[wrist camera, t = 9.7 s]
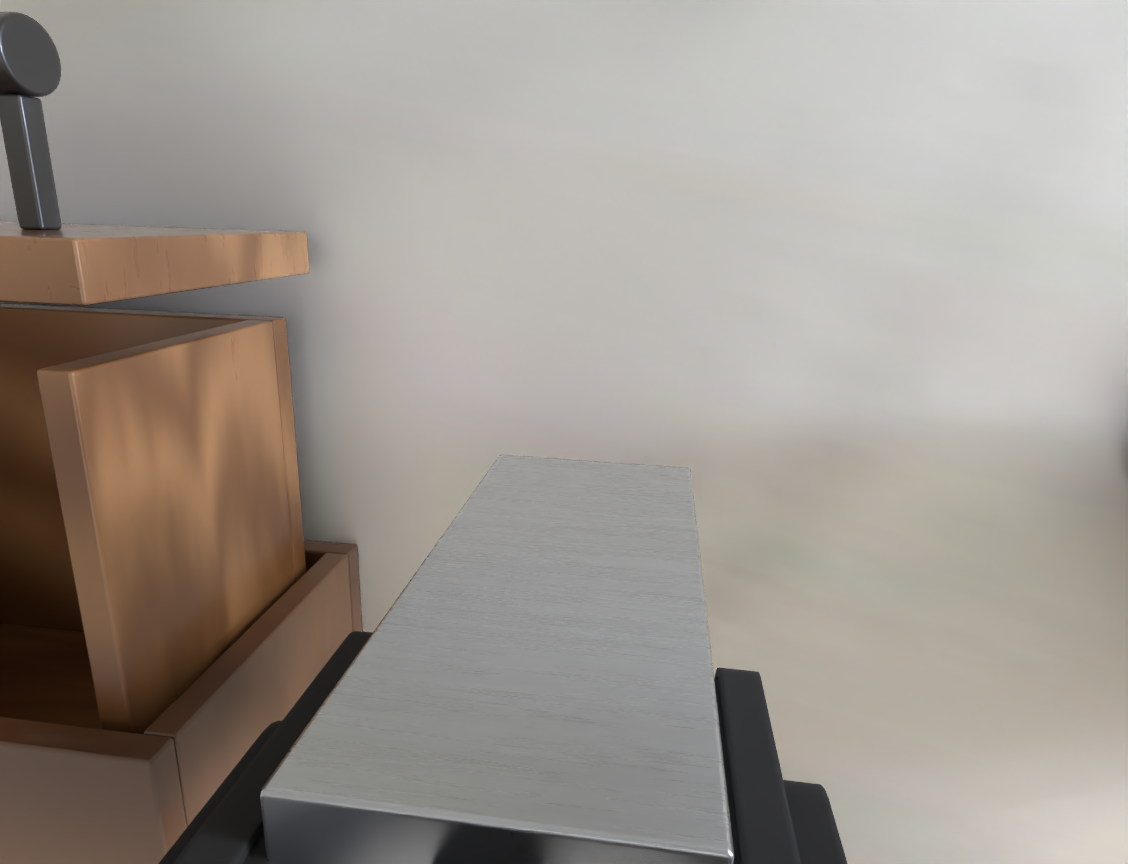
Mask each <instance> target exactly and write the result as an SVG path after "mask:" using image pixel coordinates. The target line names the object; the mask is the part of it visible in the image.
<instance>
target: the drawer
mask: <svg viewBox="0 0 1128 864" xmlns="http://www.w3.org/2000/svg"><path fill="white" fill-rule="evenodd" d="M60 77H61V65H60V59H59V55H58V52H57V49H56V47H55V45H54V43H53V41H52V39H51V37H50V36H49V34H48V33H47V32H46V30H45V29H44V28H43V27H42V26H41V25H40V24H39V23H38V22H37V21H35V20H34V19H32V18H31V17H29V16H27V15H25V14H22V13H18V12H0V121H1V126H2V132H3V138H4V143H5V149H6V154H7V160H8V165H9V171H10V176H11V182H12V188H13V193H14V199H15V204H16V210H17V215H18V221H19V222H0V301H3V302H24V303H44V304H65V305H92V304H99V303H105V302H112V301H119V300H126V299H133V298H140V297H147V296H154V295H161V294H168V293H175V292H182V291H189V290H196V289H203V288H210V287H217V286H223V285H230V284H237V283H244V282H251V281H258V280H265V279H272V278H279V277H286V276H293V275H300V274H307V273H309V260H308V246H307V234H306V232H295V231H266V230H236V229H207V228H177V227H148V226H118V225H89V224H61V220H60V214H59V208H58V202H57V195H56V189H55V183H54V177H53V171H52V165H51V159H50V153H49V147H48V140H47V134H46V128H45V122H44V116H43V110H42V104H41V101H40V99H38V98H35V97H43V96H47V95H48V94H50V93H52V92H53V91H54V90H55V89H56V88H57V86H58V84H59V81H60ZM305 573H306V562H305V549H304V537H303V525H302V512H301V500H300V488H299V475H298V463H297V451H296V438H295V426H294V413H293V401H292V389H291V376H290V364H289V352H288V339H287V327H286V319H285V318H283V317H266V316H245V315H225V314H205V313H184V312H164V311H143V310H123V309H102V308H82V307H62V306H41V305H21V304H0V716H1V717H9V718H18V719H26V720H34V721H42V722H50V723H58V724H66V725H74V726H82V727H90V728H98V729H106V730H114V731H122V732H130V733H138V734H144V731H145V730H146V729H147V728H148V727H149V726H150V725H151V724H152V723H153V722H154V721H155V720H156V719H157V718H158V717H159V716H160V715H161V714H162V713H163V712H164V711H165V710H166V709H167V708H168V707H169V706H170V705H171V704H172V703H173V702H175V701H176V700H177V699H178V698H179V697H180V696H181V695H182V694H183V693H184V692H185V691H186V690H187V689H188V688H189V687H190V686H191V685H192V684H193V683H194V682H195V681H196V680H197V679H198V678H199V677H200V676H201V675H202V674H203V673H204V672H205V671H206V670H207V669H208V668H209V667H210V666H211V665H212V664H213V663H214V662H215V661H216V660H217V659H218V658H219V657H220V656H221V655H222V654H223V653H224V652H225V651H227V650H228V649H229V648H230V647H231V646H232V645H233V644H234V643H235V642H236V641H237V640H238V639H239V638H240V637H241V636H242V635H243V634H244V633H245V632H246V631H247V630H248V629H249V628H250V627H251V626H252V625H253V624H254V623H255V622H256V621H257V620H258V619H259V618H260V617H261V616H262V615H263V614H264V613H265V612H266V611H267V610H268V609H269V608H270V607H271V606H272V605H273V604H274V603H275V602H276V601H277V600H279V599H280V598H281V597H282V596H283V595H284V594H285V593H286V592H287V591H288V590H289V589H290V588H291V587H292V586H293V585H294V584H295V583H296V582H297V581H298V580H299V579H300V578H301V577H302V576H303V575H304V574H305Z"/></svg>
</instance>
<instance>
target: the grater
mask: <svg viewBox="0 0 1128 864" xmlns="http://www.w3.org/2000/svg"><path fill="white" fill-rule="evenodd" d="M260 800H261V809H262V818H263V828H264V837H265V846H266V855H267V859H269V862H270V864H733V861H734V848H733V839H732V831H731V822H730V813H729V804H728V795H727V786H726V778H725V769H724V760H723V751H722V742H721V734H720V725H719V716H718V707H717V698H716V689H715V681H714V672H713V663H712V654H711V645H710V637H709V628H708V619H707V610H706V601H705V592H704V584H703V575H702V566H701V557H700V548H699V540H698V531H697V522H696V513H695V504H694V495H693V487H692V478H691V471H690V469H689V468H682V467H667V466H653V465H639V464H625V463H611V462H597V461H582V460H568V459H554V458H540V457H526V456H512V455H500V456H499V457H498V458H497V460H496V461H495V462H494V464H493V465H492V467H491V468H490V469H489V471H488V472H487V474H486V475H485V477H484V478H483V479H482V481H481V482H480V484H479V485H478V486H477V488H476V489H475V491H474V492H473V493H472V495H471V496H470V498H469V499H468V500H467V502H466V503H465V505H464V506H463V507H462V509H461V510H460V512H459V513H458V514H457V516H456V517H455V519H454V520H453V521H452V523H451V524H450V526H449V527H448V528H447V530H446V531H445V533H444V534H443V535H442V537H441V538H440V540H439V541H438V542H437V544H436V545H435V547H434V548H433V549H432V551H431V552H430V554H429V555H428V556H427V558H426V559H425V561H424V562H423V563H422V565H421V566H420V568H419V569H418V571H417V572H416V573H415V575H414V576H413V578H412V579H411V580H410V582H409V583H408V585H407V586H406V587H405V589H404V590H403V592H402V593H401V594H400V596H399V597H398V599H397V600H396V601H395V603H394V604H393V606H392V607H391V608H390V610H389V611H388V613H387V614H386V615H385V617H384V618H383V620H382V621H381V622H380V624H379V625H378V627H377V628H376V629H375V631H374V632H373V634H372V635H371V636H370V638H369V639H368V641H367V642H366V643H365V645H364V646H363V648H362V649H361V650H360V652H359V653H358V655H357V656H356V657H355V659H354V660H353V662H352V663H351V665H350V666H349V667H348V669H347V670H346V672H345V673H344V674H343V676H342V677H341V679H340V680H339V681H338V683H337V684H336V686H335V687H334V688H333V690H332V691H331V693H330V694H329V695H328V697H327V698H326V700H325V701H324V702H323V704H322V705H321V707H320V708H319V709H318V711H317V712H316V714H315V715H314V716H313V718H312V719H311V721H310V722H309V723H308V725H307V726H306V728H305V729H304V730H303V732H302V733H301V735H300V736H299V737H298V739H297V740H296V742H295V743H294V744H293V746H292V747H291V749H290V750H289V751H288V753H287V754H286V756H285V757H284V759H283V760H282V761H281V763H280V764H279V766H278V767H277V768H276V770H275V771H274V773H273V774H272V775H271V777H270V778H269V780H268V781H267V782H266V784H265V785H264V787H263V788H262V791H261V795H260Z"/></svg>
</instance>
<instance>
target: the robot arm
mask: <svg viewBox="0 0 1128 864" xmlns="http://www.w3.org/2000/svg"><path fill="white" fill-rule="evenodd" d="M372 634H373V633H371V632H361V631H353V632H351V633H350V634H349V635H348V636H347V637H346V638H345V640H344V641H343V642H342V644H341V645H340V646H339V648H338V649H337V650H336V651H335V653H334V654H333V655H332V657H331V658H330V659H329V661H328V662H327V663H326V664H325V666H324V667H323V668H322V670H321V671H320V672H319V674H318V675H317V676H316V677H315V679H314V680H313V681H312V683H311V684H310V685H309V687H308V688H307V689H306V691H305V692H304V693H303V694H302V696H301V697H300V698H299V700H298V701H297V702H296V704H295V705H294V706H293V707H292V709H291V710H290V711H289V713H288V714H287V715H286V717H285V718H284V719H283V720H282V721H279V720H278V721H276V722H273V723H271V724H270V725H269V726H268V727H267V728H266V729H265V730H264V731H263V732H262V733H261V734H260V736H259V737H258V738H257V740H256V741H255V742H254V743H253V745H252V746H251V747H250V748H249V750H248V751H247V752H246V753H245V755H244V756H243V757H242V759H241V760H240V761H239V762H238V764H237V765H236V766H235V767H234V769H233V770H232V771H231V772H230V774H229V775H228V776H227V778H226V779H225V780H224V781H223V783H222V784H221V785H220V786H219V788H218V789H217V790H216V791H215V793H214V794H213V795H212V796H211V798H210V799H209V800H208V802H207V803H206V804H205V805H204V807H203V808H202V809H201V810H200V812H199V813H198V814H197V815H196V817H195V818H194V819H193V821H192V822H191V823H190V824H189V826H188V827H187V828H186V829H185V831H184V832H183V833H182V834H181V836H180V837H179V838H178V840H177V841H176V842H175V843H174V845H173V846H172V847H171V848H170V850H169V851H168V852H167V853H166V855H165V856H164V857H163V858H162V860H161V861H160V862H159V864H270V862H269V859H267V855H266V846H265V837H264V828H263V818H262V809H261V800H260V795H261V791H262V788H263V787H264V785H265V784H266V782H267V781H268V780H269V778H270V777H271V775H272V774H273V773H274V771H275V770H276V768H277V767H278V766H279V764H280V763H281V761H282V760H283V759H284V757H285V756H286V754H287V753H288V751H289V750H290V749H291V747H292V746H293V744H294V743H295V742H296V740H297V739H298V737H299V736H300V735H301V733H302V732H303V730H304V729H305V728H306V726H307V725H308V723H309V722H310V721H311V719H312V718H313V716H314V715H315V714H316V712H317V711H318V709H319V708H320V707H321V705H322V704H323V702H324V701H325V700H326V698H327V697H328V695H329V694H330V693H331V691H332V690H333V688H334V687H335V686H336V684H337V683H338V681H339V680H340V679H341V677H342V676H343V674H344V673H345V672H346V670H347V669H348V667H349V666H350V665H351V663H352V662H353V660H354V659H355V657H356V656H357V655H358V653H359V652H360V650H361V649H362V648H363V646H364V645H365V643H366V642H367V641H368V639H369V638H370V636H371V635H372ZM714 681H715V689H716V698H717V707H718V716H719V725H720V734H721V742H722V751H723V760H724V769H725V778H726V786H727V795H728V804H729V813H730V822H731V831H732V839H733V848H734V861H733V864H847V861H846V857H845V854H844V851H843V847H842V844H841V840H840V837H839V833H838V830H837V826H836V823H835V819H834V816H833V813H832V809H831V806H830V802H829V799H828V796H827V794H826V791H825V789H824V788H823V787H822V785H820V784H812V783H803V782H795V781H786V780H783V778H782V773H781V769H780V764H779V760H778V755H777V750H776V746H775V741H774V737H773V732H772V727H771V723H770V718H769V714H768V709H767V704H766V700H765V695H764V690H763V686H762V681H761V677H760V674H759V672H755V671H745V670H736V669H726V668H717V669H716V674H715V678H714Z"/></svg>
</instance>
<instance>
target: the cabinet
mask: <svg viewBox="0 0 1128 864" xmlns="http://www.w3.org/2000/svg"><path fill="white" fill-rule="evenodd" d="M304 549H305V562H306V573H305V574H304V575H303V576H302V577H301V578H300V579H299V580H298V581H297V582H296V583H295V584H294V585H293V586H292V587H291V588H290V589H289V590H288V591H287V592H286V593H285V594H284V595H283V596H282V597H281V598H280V599H279V600H277V601H276V602H275V603H274V604H273V605H272V606H271V607H270V608H269V609H268V610H267V611H266V612H265V613H264V614H263V615H262V616H261V617H260V618H259V619H258V620H257V621H256V622H255V623H254V624H253V625H252V626H251V627H250V628H249V629H248V630H247V631H246V632H245V633H244V634H243V635H242V636H241V637H240V638H239V639H238V640H237V641H236V642H235V643H234V644H233V645H232V646H231V647H230V648H229V649H228V650H227V651H225V652H224V653H223V654H222V655H221V656H220V657H219V658H218V659H217V660H216V661H215V662H214V663H213V664H212V665H211V666H210V667H209V668H208V669H207V670H206V671H205V672H204V673H203V674H202V675H201V676H200V677H199V678H198V679H197V680H196V681H195V682H194V683H193V684H192V685H191V686H190V687H189V688H188V689H187V690H186V691H185V692H184V693H183V694H182V695H181V696H180V697H179V698H178V699H177V700H176V701H175V702H173V703H172V704H171V705H170V706H169V707H168V708H167V709H166V710H165V711H164V712H163V713H162V714H161V715H160V716H159V717H158V718H157V719H156V720H155V721H154V722H153V723H152V724H151V725H150V726H149V727H148V728H147V729H146V730H145V731H144V734H138V733H130V732H122V731H114V730H106V729H98V728H90V727H82V726H74V725H66V724H58V723H50V722H42V721H34V720H26V719H18V718H9V717H1V716H0V864H159V862H160V861H161V860H162V858H163V857H164V856H165V855H166V853H167V852H168V851H169V850H170V848H171V847H172V846H173V845H174V843H175V842H176V841H177V840H178V838H179V837H180V836H181V834H182V833H183V832H184V831H185V829H186V828H187V827H188V826H189V824H190V823H191V822H192V821H193V819H194V818H195V817H196V815H197V814H198V813H199V812H200V810H201V809H202V808H203V807H204V805H205V804H206V803H207V802H208V800H209V799H210V798H211V796H212V795H213V794H214V793H215V791H216V790H217V789H218V788H219V786H220V785H221V784H222V783H223V781H224V780H225V779H226V778H227V776H228V775H229V774H230V772H231V771H232V770H233V769H234V767H235V766H236V765H237V764H238V762H239V761H240V760H241V759H242V757H243V756H244V755H245V753H246V752H247V751H248V750H249V748H250V747H251V746H252V745H253V743H254V742H255V741H256V740H257V738H258V737H259V736H260V734H261V733H262V732H263V731H264V730H265V729H266V728H267V727H268V726H269V725H270V724H271V723H273V722H276V721H278V720H279V721H282V720H283V719H284V718H285V717H286V715H287V714H288V713H289V711H290V710H291V709H292V707H293V706H294V705H295V704H296V702H297V701H298V700H299V698H300V697H301V696H302V694H303V693H304V692H305V691H306V689H307V688H308V687H309V685H310V684H311V683H312V681H313V680H314V679H315V677H316V676H317V675H318V674H319V672H320V671H321V670H322V668H323V667H324V666H325V664H326V663H327V662H328V661H329V659H330V658H331V657H332V655H333V654H334V653H335V651H336V650H337V649H338V648H339V646H340V645H341V644H342V642H343V641H344V640H345V638H346V637H347V636H348V635H349V634H350V633H351V632H353V631H361V632H362V621H361V604H360V586H359V569H358V552H357V545H355V544H344V543H332V542H321V541H310V540H304Z"/></svg>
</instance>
